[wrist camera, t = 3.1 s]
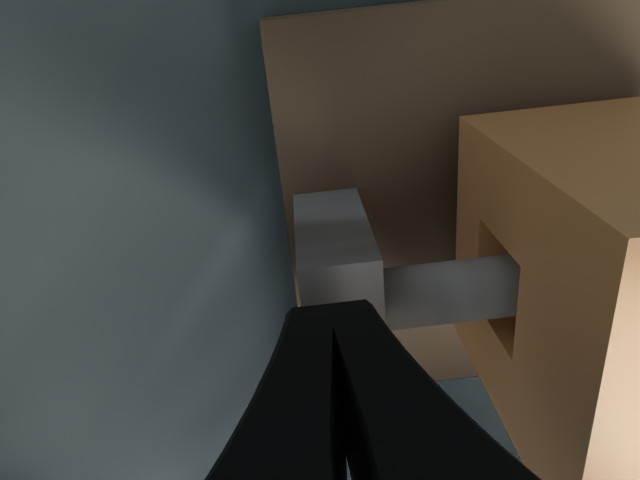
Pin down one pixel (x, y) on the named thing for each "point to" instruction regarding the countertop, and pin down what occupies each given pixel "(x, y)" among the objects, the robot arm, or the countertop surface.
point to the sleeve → (559, 280)
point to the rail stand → (419, 144)
